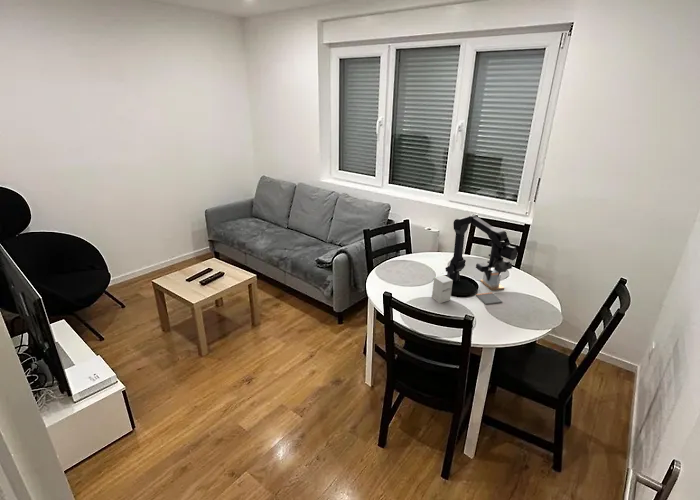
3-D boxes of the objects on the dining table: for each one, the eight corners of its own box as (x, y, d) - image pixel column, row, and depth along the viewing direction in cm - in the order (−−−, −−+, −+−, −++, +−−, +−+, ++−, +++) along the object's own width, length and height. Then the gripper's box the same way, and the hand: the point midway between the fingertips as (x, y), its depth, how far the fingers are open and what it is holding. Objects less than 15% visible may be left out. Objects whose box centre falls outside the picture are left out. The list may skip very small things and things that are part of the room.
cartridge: (485, 281, 209) (487, 269, 206) (492, 280, 210) (494, 269, 207) (490, 284, 205) (492, 273, 202) (496, 283, 206) (498, 272, 203)
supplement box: (440, 303, 206) (442, 282, 201) (431, 297, 212) (433, 277, 207) (450, 300, 209) (453, 280, 204) (441, 294, 215) (444, 274, 210)
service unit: (491, 290, 220) (494, 276, 216) (480, 281, 230) (482, 267, 227) (503, 289, 222) (506, 275, 218) (491, 280, 232) (494, 266, 229)
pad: (485, 304, 205) (486, 303, 205) (475, 295, 214) (476, 294, 214) (502, 302, 208) (502, 301, 207) (491, 293, 217) (491, 292, 216)
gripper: (489, 261, 191) (485, 289, 197) (521, 258, 196) (516, 284, 202) (477, 253, 201) (473, 279, 207) (507, 249, 206) (502, 275, 212)
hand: (491, 280), depth 207 cm, fingers closed on cartridge, 4 cm apart
